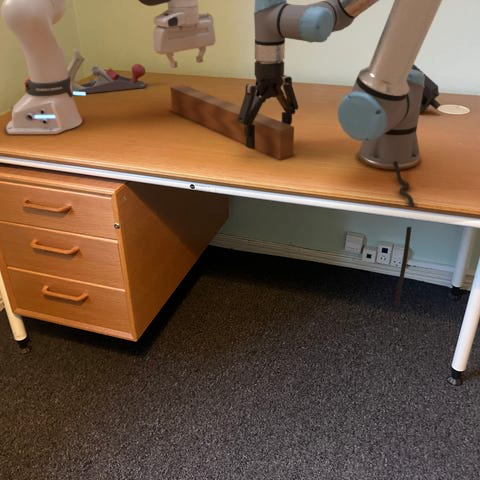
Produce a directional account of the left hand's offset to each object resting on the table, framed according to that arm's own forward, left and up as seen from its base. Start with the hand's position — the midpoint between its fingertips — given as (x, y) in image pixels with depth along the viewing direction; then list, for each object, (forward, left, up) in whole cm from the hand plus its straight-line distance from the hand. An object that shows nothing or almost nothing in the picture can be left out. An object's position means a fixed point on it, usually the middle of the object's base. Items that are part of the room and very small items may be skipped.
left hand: (187, 64), depth 163 cm
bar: (+10, -16, -16) cm, 25 cm away
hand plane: (-29, +36, -16) cm, 49 cm away
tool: (+70, -8, -16) cm, 72 cm away
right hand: (+19, -33, -14) cm, 40 cm away
